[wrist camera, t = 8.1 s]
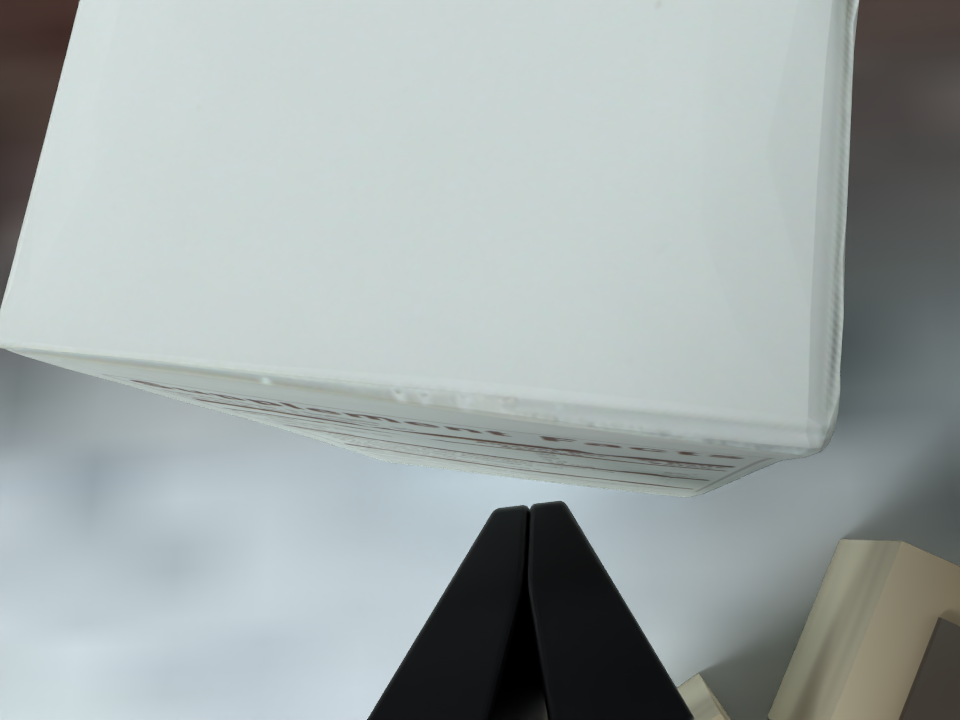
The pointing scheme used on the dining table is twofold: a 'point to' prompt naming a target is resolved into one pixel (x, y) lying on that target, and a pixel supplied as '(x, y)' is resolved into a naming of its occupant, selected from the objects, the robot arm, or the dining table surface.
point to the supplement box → (458, 227)
